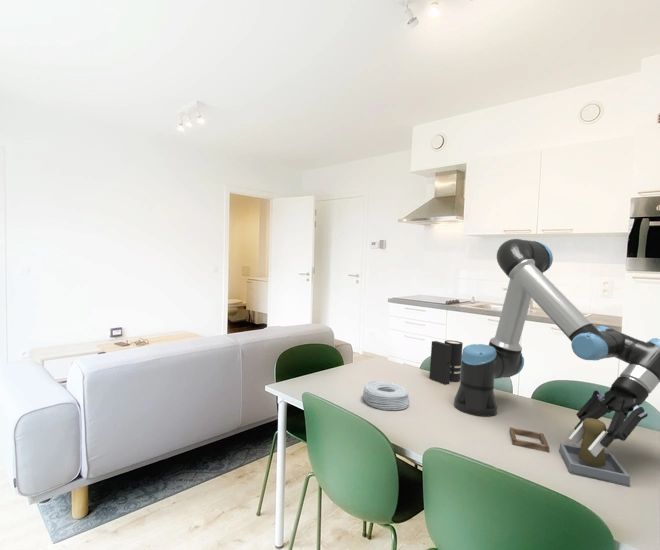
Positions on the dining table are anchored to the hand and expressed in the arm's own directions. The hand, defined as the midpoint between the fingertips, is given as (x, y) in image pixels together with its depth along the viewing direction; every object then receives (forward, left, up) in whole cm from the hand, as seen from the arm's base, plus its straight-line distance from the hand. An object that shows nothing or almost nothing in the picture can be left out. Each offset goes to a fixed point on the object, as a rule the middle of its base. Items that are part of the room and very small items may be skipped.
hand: (581, 447), depth 97 cm
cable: (-58, +21, -6) cm, 62 cm away
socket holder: (-11, +11, -6) cm, 17 cm away
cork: (+3, +2, -4) cm, 5 cm away
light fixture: (-38, +64, -6) cm, 75 cm away
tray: (+3, +2, -6) cm, 7 cm away
